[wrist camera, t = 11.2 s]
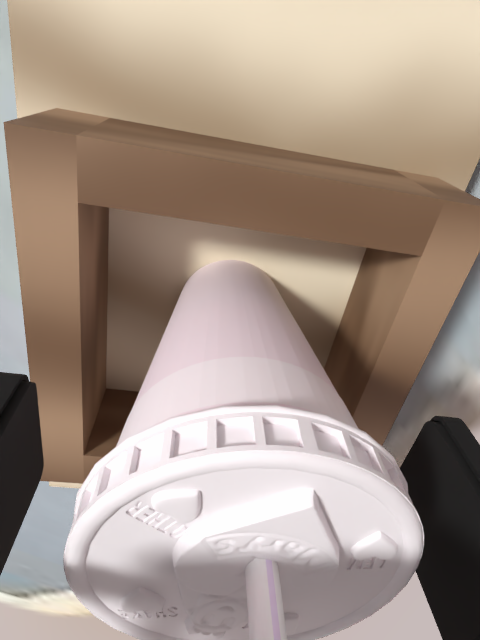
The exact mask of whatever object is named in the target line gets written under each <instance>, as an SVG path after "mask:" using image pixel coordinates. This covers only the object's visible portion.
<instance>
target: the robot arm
mask: <svg viewBox="0 0 480 640" xmlns="http://www.w3.org/2000/svg"><path fill="white" fill-rule="evenodd" d="M43 467H44V459H43V449H42V438H41V428H40V417H39V407H38V397H37V387H36V383H35V382H29V380H28V377H27V375H23V374H13V373H3V372H0V575H1V573H2V570H3V568H4V565H5V563H6V561H7V558H8V556H9V553H10V551H11V549H12V546H13V544H14V541H15V539H16V537H17V534H18V532H19V529H20V527H21V525H22V522H23V520H24V518H25V515H26V513H27V510H28V508H29V506H30V503H31V501H32V498H33V496H34V494H35V491H36V489H37V486H38V484H39V482H40V479H41V476H42V473H43ZM400 470H401V472H402V474H403V476H404V478H405V480H406V481H407V484H408V494H409V496H410V498H411V501H412V503H413V505H414V507H415V509H416V510H417V512H418V515H419V517H420V520H421V523H422V526H423V532H424V548H423V553H422V557H421V559H420V562H419V565H418V567H417V569H416V573H417V575H418V578H419V580H420V583H421V585H422V588H423V591H424V593H425V596H426V598H427V601H428V603H429V606H430V608H431V611H432V613H433V616H434V619H435V621H436V624H437V626H438V629H439V631H440V634H441V636H442V639H443V640H480V445H479V443H478V442H477V440H476V439H475V437H474V436H473V435H472V433H471V432H470V430H469V429H468V427H467V426H466V424H465V423H464V422H463V421H462V420H461V419H459V418H452V417H442V416H435V417H433V418H432V419H431V420H430V421H428V422H426V423H425V425H424V426H423V428H422V430H421V432H420V433H419V435H418V437H417V439H416V441H415V442H414V444H413V446H412V448H411V449H410V451H409V453H408V455H407V457H406V458H405V460H404V462H403V464H402V466H401V467H400Z"/></svg>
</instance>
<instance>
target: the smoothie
mask: <svg viewBox="0 0 480 640" xmlns="http://www.w3.org/2000/svg"><path fill="white" fill-rule="evenodd" d="M423 548H424V532H423V526H422V523H421V520H420V517H419V515H418V512H417V510H416V509H415V507H414V505H413V503H412V501H411V498H410V496H409V494H408V484H407V481H406V480H405V478H404V476H403V474H402V472H401V470H400V468H399V466H398V464H397V462H396V460H395V458H394V457H393V455H391V454H390V453H389V452H388V451H387V450H386V449H384V448H383V447H382V446H381V445H380V444H379V443H377V442H376V441H375V440H374V439H373V438H372V437H371V436H369V435H368V434H367V433H366V432H364V431H362V430H360V429H358V427H357V425H356V423H355V422H354V420H353V418H352V416H351V414H350V412H349V411H348V409H347V407H346V405H345V404H344V402H343V400H342V399H341V397H340V396H339V395H338V393H337V391H336V389H335V388H334V386H333V384H332V383H331V381H330V379H329V377H328V376H327V374H326V372H325V371H324V369H323V367H322V365H321V364H320V362H319V360H318V358H317V357H316V355H315V353H314V352H313V350H312V348H311V346H310V345H309V343H308V341H307V340H306V338H305V336H304V334H303V333H302V331H301V329H300V328H299V326H298V324H297V322H296V321H295V319H294V317H293V316H292V314H291V312H290V310H289V309H288V307H287V305H286V304H285V302H284V300H283V298H282V297H281V295H280V293H279V291H278V290H277V288H276V286H275V285H274V283H273V281H272V280H271V278H270V277H269V276H268V275H267V274H266V273H265V272H264V271H263V270H261V269H260V268H258V267H256V266H255V265H252V264H250V263H247V262H244V261H239V260H221V261H216V262H213V263H210V264H208V265H205V266H204V267H202V268H200V269H199V270H197V271H196V272H195V273H194V274H193V275H192V276H191V277H190V278H189V279H188V280H187V282H186V284H185V285H184V287H183V290H182V292H181V294H180V297H179V299H178V301H177V304H176V306H175V308H174V311H173V313H172V316H171V318H170V320H169V323H168V325H167V327H166V330H165V332H164V334H163V337H162V339H161V342H160V344H159V346H158V349H157V351H156V353H155V356H154V358H153V360H152V363H151V365H150V368H149V370H148V372H147V375H146V377H145V379H144V382H143V384H142V387H141V389H140V391H139V394H138V396H137V398H136V401H135V403H134V405H133V408H132V410H131V412H130V414H129V416H128V418H127V420H126V423H125V425H124V428H123V430H122V433H121V436H120V438H119V441H118V443H117V446H116V447H115V448H114V449H113V450H112V451H110V452H109V453H108V454H107V455H105V456H104V457H103V458H102V459H100V460H99V461H98V462H97V463H96V464H95V465H94V467H93V468H92V470H91V471H90V473H89V475H88V476H87V478H86V479H85V481H84V483H83V484H82V486H81V487H80V489H79V491H78V492H77V496H76V503H75V510H74V517H73V523H72V527H71V530H70V533H69V536H68V539H67V542H66V546H65V549H64V558H63V562H64V571H65V575H66V579H67V581H68V583H69V585H70V588H71V589H72V591H73V592H74V594H75V595H76V597H77V599H78V600H79V601H80V602H81V603H82V604H83V605H84V606H85V607H86V608H87V609H88V610H89V611H90V612H91V613H92V614H93V615H94V616H95V617H97V618H99V619H100V620H101V621H103V622H105V623H106V624H108V625H109V626H111V627H112V628H114V629H116V630H119V631H121V632H123V633H125V634H128V635H130V636H132V637H134V638H137V639H140V640H315V639H319V638H323V637H325V636H328V635H331V634H333V633H335V632H338V631H341V630H343V629H346V628H348V627H350V626H352V625H354V624H356V623H358V622H359V621H361V620H364V619H365V618H367V617H369V616H371V615H372V614H374V613H375V612H376V611H378V610H379V609H381V608H382V607H383V606H385V605H386V604H388V603H389V602H390V601H391V600H392V599H393V598H394V597H395V596H396V595H397V594H398V593H399V592H400V591H401V590H402V589H403V588H404V587H405V586H406V585H407V583H408V582H409V580H410V578H411V577H412V575H413V574H414V572H415V571H416V569H417V567H418V565H419V562H420V559H421V557H422V553H423Z"/></svg>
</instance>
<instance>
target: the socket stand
mask: <svg viewBox="0 0 480 640" xmlns="http://www.w3.org/2000/svg"><path fill="white" fill-rule="evenodd" d="M7 2H8V14H9V25H10V37H11V48H12V60H13V71H14V83H15V94H16V106H17V117H18V119H14V120H11V121H7V122H4V130H5V140H6V149H7V159H8V169H9V179H10V188H11V198H12V208H13V218H14V227H15V237H16V247H17V257H18V266H19V276H20V286H21V296H22V305H23V315H24V325H25V334H26V344H27V354H28V364H29V373H30V382H35V383H36V387H37V397H38V407H39V417H40V428H41V438H42V449H43V459H44V467H43V473H42V476H41V479H40V481H49V486H53V487H68V488H80V487H81V486H82V484H83V483H84V481H85V479H86V478H87V476H88V475H89V473H90V471H91V470H92V468H93V467H94V465H95V464H96V463H97V462H98V461H99V460H100V459H102V458H103V457H104V456H105V455H107V454H108V453H109V452H110V451H112V450H113V449H114V448H115V447H116V446H117V443H118V441H119V438H120V436H121V433H122V430H123V428H124V425H125V423H126V420H127V418H128V416H129V414H130V412H131V410H132V408H133V405H134V403H135V401H136V398H137V396H138V394H139V391H140V389H141V387H142V384H143V382H144V379H145V377H146V375H147V372H148V370H149V368H150V365H151V363H152V360H153V358H154V356H155V353H156V351H157V349H158V346H159V344H160V342H161V339H162V337H163V334H164V332H165V330H166V327H167V325H168V323H169V320H170V318H171V316H172V313H173V311H174V308H175V306H176V304H177V301H178V299H179V297H180V294H181V292H182V290H183V287H184V285H185V284H186V282H187V280H188V279H189V278H190V277H191V276H192V275H193V274H194V273H195V272H196V271H197V270H199V269H200V268H202V267H204V266H205V265H208V264H210V263H213V262H216V261H221V260H239V261H244V262H247V263H250V264H252V265H255V266H256V267H258V268H260V269H261V270H263V271H264V272H265V273H266V274H267V275H268V276H269V277H270V278H271V280H272V281H273V283H274V285H275V286H276V288H277V290H278V291H279V293H280V295H281V297H282V298H283V300H284V302H285V304H286V305H287V307H288V309H289V310H290V312H291V314H292V316H293V317H294V319H295V321H296V322H297V324H298V326H299V328H300V329H301V331H302V333H303V334H304V336H305V338H306V340H307V341H308V343H309V345H310V346H311V348H312V350H313V352H314V353H315V355H316V357H317V358H318V360H319V362H320V364H321V365H322V367H323V369H324V371H325V372H326V374H327V376H328V377H329V379H330V381H331V383H332V384H333V386H334V388H335V389H336V391H337V393H338V395H339V396H340V397H341V399H342V400H343V402H344V404H345V405H346V407H347V409H348V411H349V412H350V414H351V416H352V418H353V420H354V422H355V423H356V425H357V427H358V429H360V430H362V431H364V432H366V433H367V434H368V435H369V436H371V437H372V438H373V439H374V440H375V441H376V442H377V443H379V444H380V445H381V446H382V445H383V443H384V441H385V439H386V437H387V435H388V433H389V431H390V429H391V427H392V425H393V423H394V421H395V419H396V417H397V415H398V413H399V411H400V409H401V407H402V405H403V403H404V401H405V399H406V397H407V395H408V393H409V391H410V389H411V387H412V385H413V383H414V381H415V379H416V377H417V375H418V373H419V371H420V369H421V367H422V365H423V363H424V361H425V359H426V357H427V355H428V353H429V351H430V349H431V347H432V345H433V343H434V341H435V339H436V337H437V335H438V333H439V331H440V329H441V327H442V325H443V323H444V321H445V319H446V317H447V315H448V313H449V311H450V309H451V307H452V305H453V303H454V301H455V299H456V297H457V295H458V293H459V291H460V289H461V287H462V285H463V283H464V281H465V279H466V277H467V275H468V273H469V271H470V269H471V267H472V265H473V263H474V261H475V259H476V257H477V255H478V253H479V251H480V199H478V198H476V197H474V196H472V195H470V194H468V193H466V192H465V190H466V188H467V186H468V183H469V181H470V179H471V177H472V174H473V172H474V170H475V168H476V165H477V163H478V161H479V159H480V0H7Z"/></svg>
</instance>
